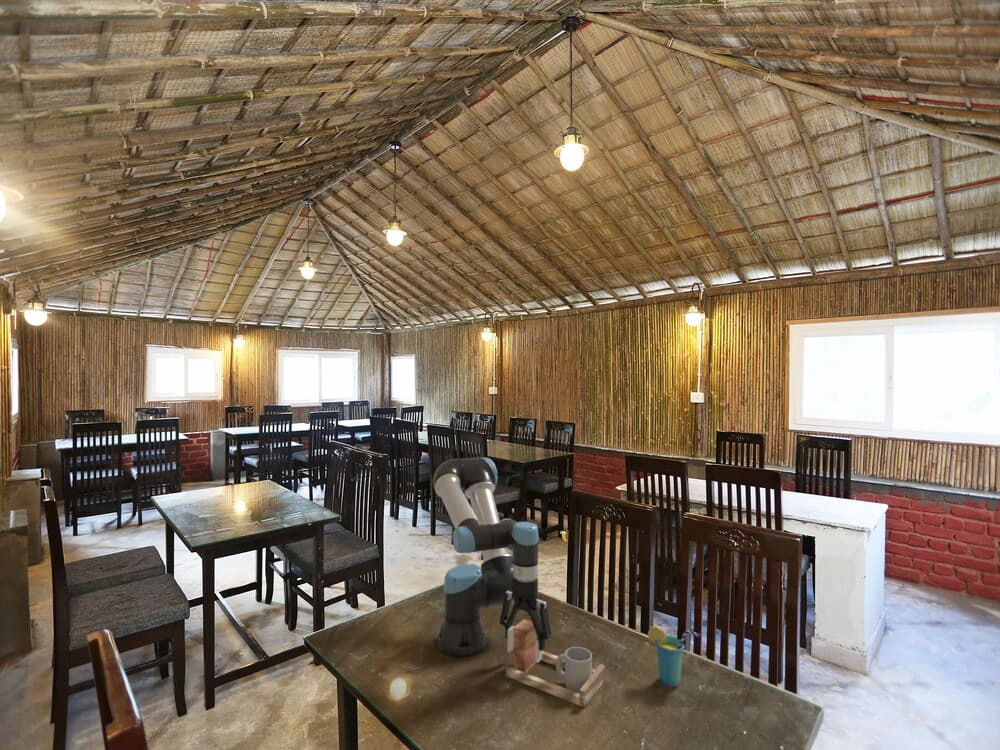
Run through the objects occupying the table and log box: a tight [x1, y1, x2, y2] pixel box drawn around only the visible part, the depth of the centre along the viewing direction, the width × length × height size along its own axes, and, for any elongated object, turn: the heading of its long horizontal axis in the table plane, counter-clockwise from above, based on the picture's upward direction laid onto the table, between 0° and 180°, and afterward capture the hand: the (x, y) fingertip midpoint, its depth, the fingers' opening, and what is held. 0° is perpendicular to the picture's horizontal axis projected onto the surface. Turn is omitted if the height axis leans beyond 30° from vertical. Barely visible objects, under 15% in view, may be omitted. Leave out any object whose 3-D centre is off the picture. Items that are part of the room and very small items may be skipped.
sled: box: [505, 618, 606, 708], centre depth 137 cm, size 24×14×12 cm, turn 57°
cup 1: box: [555, 646, 593, 694], centre depth 134 cm, size 7×10×9 cm
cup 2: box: [647, 626, 701, 688], centre depth 136 cm, size 14×8×15 cm, turn 70°
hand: (524, 655), depth 143 cm, fingers open, 9 cm apart
